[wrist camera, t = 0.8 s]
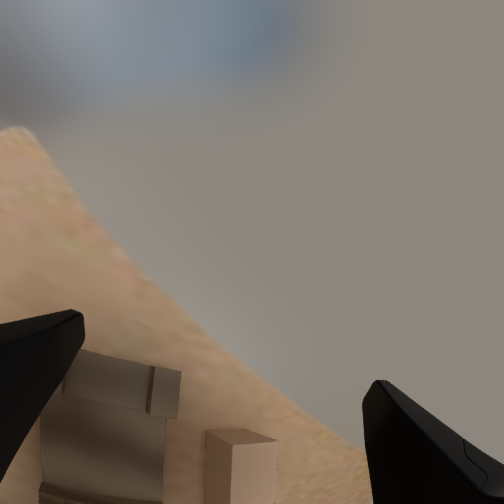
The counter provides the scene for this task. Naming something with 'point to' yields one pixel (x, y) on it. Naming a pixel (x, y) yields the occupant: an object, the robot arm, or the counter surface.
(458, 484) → the robot arm
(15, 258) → the counter surface
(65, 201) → the counter surface
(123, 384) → the bracket
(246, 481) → the clay bar
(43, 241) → the counter surface
